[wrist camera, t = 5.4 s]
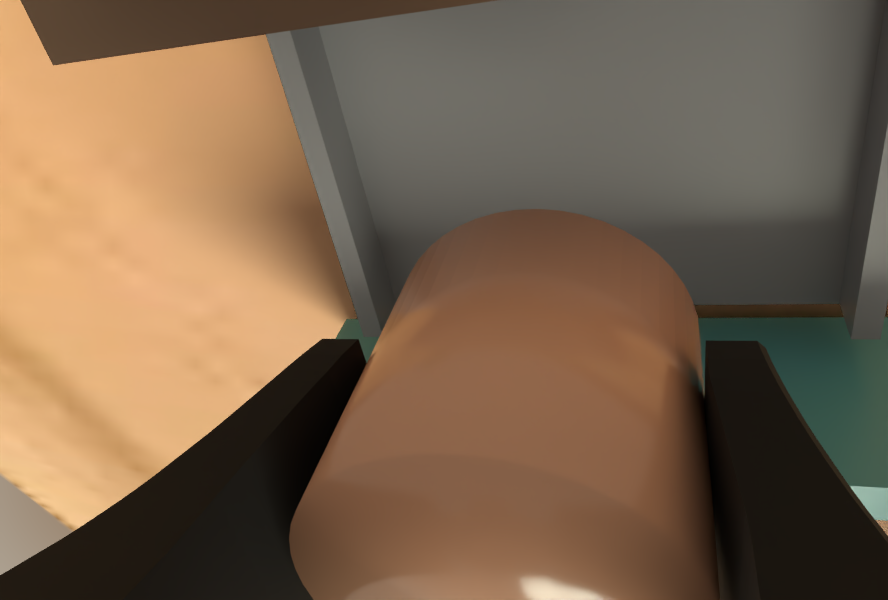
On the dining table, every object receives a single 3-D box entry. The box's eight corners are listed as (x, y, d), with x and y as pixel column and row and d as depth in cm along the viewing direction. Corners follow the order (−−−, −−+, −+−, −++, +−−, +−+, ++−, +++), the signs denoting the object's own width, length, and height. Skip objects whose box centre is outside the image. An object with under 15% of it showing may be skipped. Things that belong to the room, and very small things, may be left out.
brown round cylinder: (685, 454, 12) (696, 739, 9) (420, 428, 13) (335, 668, 10) (717, 212, 9) (753, 486, 6) (379, 205, 11) (239, 430, 7)
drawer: (916, 345, 18) (997, 528, 14) (355, 341, 23) (283, 475, 19) (1086, -362, 11) (1384, -451, 6) (194, -144, 16) (8, -109, 11)
